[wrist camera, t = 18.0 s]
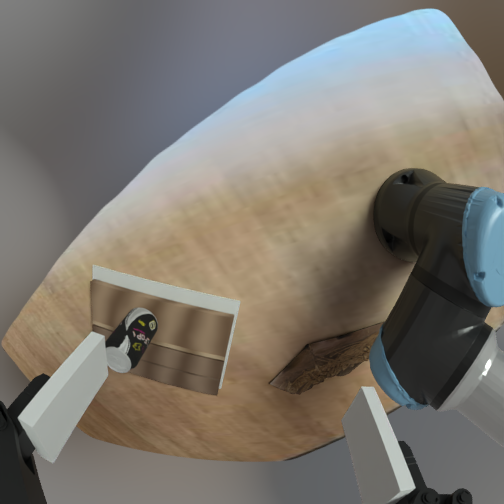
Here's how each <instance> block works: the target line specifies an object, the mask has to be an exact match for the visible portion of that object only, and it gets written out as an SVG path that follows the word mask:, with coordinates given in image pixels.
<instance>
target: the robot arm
mask: <svg viewBox="0 0 504 504" xmlns="http://www.w3.org/2000/svg"><path fill="white" fill-rule="evenodd" d="M374 225H375V230H376V233H377V236H378V238H379V240H380V242H381V243H382V245H383V246H384V247H385V248H386V249H387V250H388V251H389V252H390V253H392V254H393V255H395V256H396V257H398V258H399V259H402V260H404V261H408V262H416V264H415V266H414V268H413V270H412V272H411V274H410V276H409V278H408V280H407V282H406V284H405V286H404V288H403V290H402V292H401V294H400V296H399V298H398V300H397V302H396V304H395V306H394V307H393V309H392V311H391V313H390V314H389V316H388V318H387V320H386V321H385V322H384V323H383V324H382V326H381V327H380V330H379V334H378V336H377V338H376V340H375V342H374V344H373V345H372V347H371V350H370V354H369V360H370V368H371V371H372V374H373V376H374V378H375V380H376V382H377V383H378V385H379V386H380V387H381V389H382V390H383V391H384V392H385V393H386V394H387V395H388V396H389V397H390V398H391V399H392V400H394V401H395V402H396V403H398V404H400V405H401V406H404V405H406V406H407V408H408V409H412V410H419V409H422V408H424V407H427V406H428V405H431V406H432V407H433V408H434V409H435V410H437V411H438V412H440V411H446V410H451V409H456V410H458V411H459V412H460V413H461V414H463V415H464V416H465V417H466V418H467V419H469V420H470V421H471V422H472V423H474V424H475V425H476V426H477V427H479V428H480V429H481V430H482V431H483V432H485V433H486V434H487V435H488V436H490V437H491V438H492V439H493V440H494V441H496V442H497V443H498V444H499V445H501V446H502V447H503V448H504V352H503V351H501V350H500V349H499V348H498V346H497V341H496V333H495V330H494V329H493V328H492V327H491V326H489V325H488V324H486V323H485V322H484V321H485V319H486V317H487V315H488V313H489V311H490V309H491V307H500V306H503V305H504V193H500V192H497V191H494V190H493V189H490V188H487V187H474V186H467V185H459V184H451V183H446V182H445V181H444V180H442V179H441V178H440V177H438V176H437V175H436V174H434V173H432V172H430V171H428V170H425V169H418V168H408V169H403V170H400V171H398V172H396V173H394V174H393V175H392V176H390V177H389V178H388V179H387V180H386V181H385V183H384V184H383V185H382V187H381V189H380V191H379V193H378V195H377V198H376V201H375V206H374ZM107 377H108V368H107V358H106V347H105V336H103V335H101V334H98V333H95V332H91V333H90V334H89V335H88V336H87V337H86V338H85V340H84V341H83V342H82V343H81V344H80V345H79V346H78V347H77V348H76V349H75V350H74V352H73V353H72V354H71V355H70V356H69V357H68V358H67V359H66V360H65V362H64V363H63V364H62V365H61V366H60V367H59V368H58V370H57V371H56V372H55V373H54V374H53V375H52V376H51V377H49V376H47V375H46V374H44V373H43V374H41V375H39V376H37V377H35V378H34V379H33V380H32V381H31V382H30V384H29V385H28V386H27V387H26V388H25V389H24V391H23V392H22V393H21V394H20V395H19V396H18V397H17V398H16V399H15V401H14V402H13V403H12V404H11V405H10V407H9V408H8V409H6V407H5V405H4V404H3V402H1V401H0V504H47V502H46V499H45V496H44V493H43V490H42V487H41V483H40V480H39V477H38V472H37V469H36V465H35V460H34V456H33V454H32V453H33V451H34V450H35V449H36V451H37V452H38V454H39V455H40V456H41V457H43V458H45V459H46V460H48V461H50V462H52V463H54V462H55V460H56V458H57V456H58V455H59V453H60V451H61V450H62V448H63V446H64V445H65V443H66V441H67V439H68V438H69V436H70V435H71V433H72V431H73V429H74V428H75V426H76V425H77V423H78V422H79V420H80V418H81V417H82V415H83V414H84V412H85V410H86V409H87V407H88V406H89V404H90V403H91V401H92V400H93V398H94V396H95V395H96V393H97V392H98V390H99V389H100V387H101V386H102V384H103V383H104V381H105V380H106V378H107ZM341 421H342V425H343V429H344V432H345V436H346V440H347V444H348V447H349V451H350V455H351V459H352V463H353V467H354V471H355V474H356V479H357V483H358V487H359V491H360V495H361V500H362V504H472V495H471V494H470V492H469V491H468V490H466V489H463V488H462V489H458V490H456V491H455V492H454V493H452V494H438V493H437V492H436V491H435V490H433V489H431V488H427V487H426V485H425V482H424V480H423V477H422V475H421V472H420V470H419V467H418V465H417V464H416V460H415V458H414V457H413V453H412V451H411V449H410V447H409V446H408V445H407V444H406V443H405V442H404V441H398V442H397V439H396V437H395V434H394V432H393V430H392V427H391V425H390V423H389V420H388V418H387V416H386V413H385V411H384V409H383V407H382V404H381V402H380V400H379V398H378V395H377V393H376V391H375V389H374V387H361V388H360V390H359V392H358V394H357V395H356V397H355V399H354V400H353V402H352V404H351V405H350V407H349V409H348V410H347V412H346V414H345V415H344V417H343V418H342V420H341Z"/></svg>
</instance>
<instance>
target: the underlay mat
mask: <svg viewBox="0 0 504 504" xmlns="http://www.w3.org/2000/svg"><path fill="white" fill-rule="evenodd" d="M93 279H97V280H100V281H103V282H107V283H110V284H113V285H117V286H120V287H124V288H127V289H131V290H135V291H138V292H142V293H146V294H149V295H153V296H157V297H161V298H165V299H169V300H173V301H177V302H181V303H185V304H189V305H193V306H198V307H202V308H206V309H211V310H215V311H220V312H224V313H229V314H234V320H233V324H232V329H231V333H230V338H229V343H228V347H227V352H226V356H225V361H224V366H223V370H222V375H221V380H220V384H219V388H220V389H221V387H222V382H223V378H224V373H225V369H226V364H227V360H228V355H229V351H230V346H231V342H232V337H233V333H234V328H235V324H236V319H237V315H238V310H239V306H240V301H239V300H234V299H229V298H225V297H220V296H216V295H211V294H207V293H202V292H198V291H194V290H189V289H185V288H181V287H177V286H173V285H168V284H164V283H160V282H156V281H152V280H148V279H145V278H141V277H137V276H133V275H129V274H126V273H122V272H118V271H115V270H111V269H107V268H104V267H100V266H97V265H93Z"/></svg>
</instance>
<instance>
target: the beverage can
mask: <svg viewBox="0 0 504 504" xmlns="http://www.w3.org/2000/svg"><path fill="white" fill-rule="evenodd" d="M157 329H158V322H157V319H156V318H155V316H154V315H153V314H152V313H151V312H150V311H149V310H147V309H145V308H139V307H138V308H134V309H132V310H131V311H130V312H129V313H128V314H127V315H126V317H125V318H124V319H123V320H122V322H121V323H120V324H119V325H118V326H117V328H116V329H115V330H114V331H113V333H112V334H111V335H110V336H109V338H108V339H107V340H106V341H105V347H106V358H107V365H108V366H109V367H110V368H111V369H112V370H114V371H116V372H119V373H126V372H128V371H129V370H131V369H134V368H135V367H136V366H137V365H138V363H139V361H140V359H141V357H142V356H143V354H144V352H145V351H146V349H147V347H148V345H149V344H150V342H151V340H152V338H153V337H154V335H155V333H156V332H157Z"/></svg>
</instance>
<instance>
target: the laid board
mask: <svg viewBox="0 0 504 504" xmlns="http://www.w3.org/2000/svg"><path fill="white" fill-rule="evenodd" d="M93 332H95V333H98V334H101V335H103V336H105V341H106V340H107V339H108V338H109V336H110V335H111V334H112V333H113V331H112V330H109V329H106V328H103V327H100V326H97V325H94V324H93ZM223 366H224V361H223V360H218V359H213V358H209V357H204V356H200V355H196V354H192V353H188V352H184V351H180V350H176V349H172V348H168V347H164V346H161V345H157V344H154V343H150V344H149V345H148V347H147V349H146V351H145V352H144V354H143V356H142V357H141V359H140V361H139V363H138V365H137V366H136V367H135V368H134V369H131V370H129V371H128V372H130V373H133V374H136V375H139V376H142V377H146V378H149V379H152V380H156V381H159V382H162V383H166V384H170V385H173V386H177V387H181V388H185V389H189V390H193V391H197V392H202V393H206V394H211V395H216V396H217V394H218V389H219V384H220V380H221V375H222V370H223Z"/></svg>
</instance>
